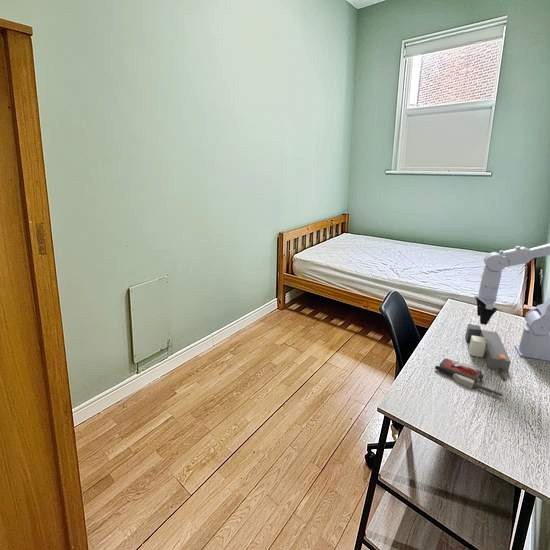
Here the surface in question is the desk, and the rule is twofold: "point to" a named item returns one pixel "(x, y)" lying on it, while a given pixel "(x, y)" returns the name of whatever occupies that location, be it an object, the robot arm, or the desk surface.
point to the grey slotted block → (491, 348)
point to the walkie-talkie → (463, 374)
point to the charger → (477, 346)
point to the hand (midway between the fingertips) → (482, 319)
